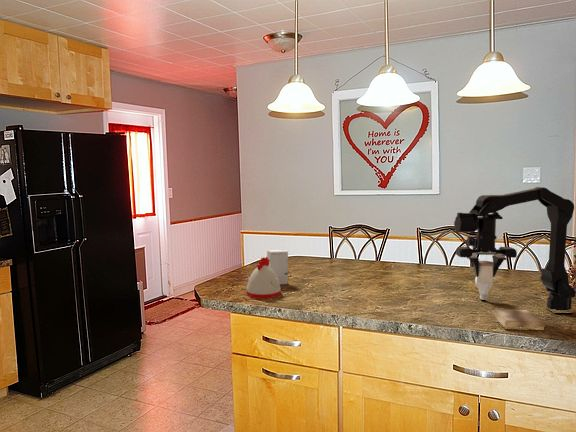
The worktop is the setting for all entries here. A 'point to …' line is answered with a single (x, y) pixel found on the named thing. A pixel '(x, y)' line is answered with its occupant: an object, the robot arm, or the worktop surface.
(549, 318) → the worktop surface
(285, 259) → the skincare box
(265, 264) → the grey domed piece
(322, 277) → the worktop surface
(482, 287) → the lightbulb
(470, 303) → the worktop surface
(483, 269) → the spice tin
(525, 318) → the block
